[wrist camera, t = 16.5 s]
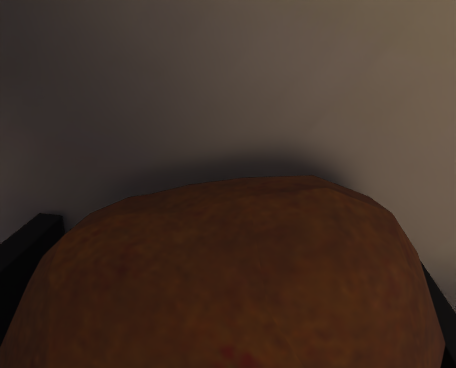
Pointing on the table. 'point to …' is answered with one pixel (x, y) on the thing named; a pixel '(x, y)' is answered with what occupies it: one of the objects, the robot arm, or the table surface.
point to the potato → (230, 284)
